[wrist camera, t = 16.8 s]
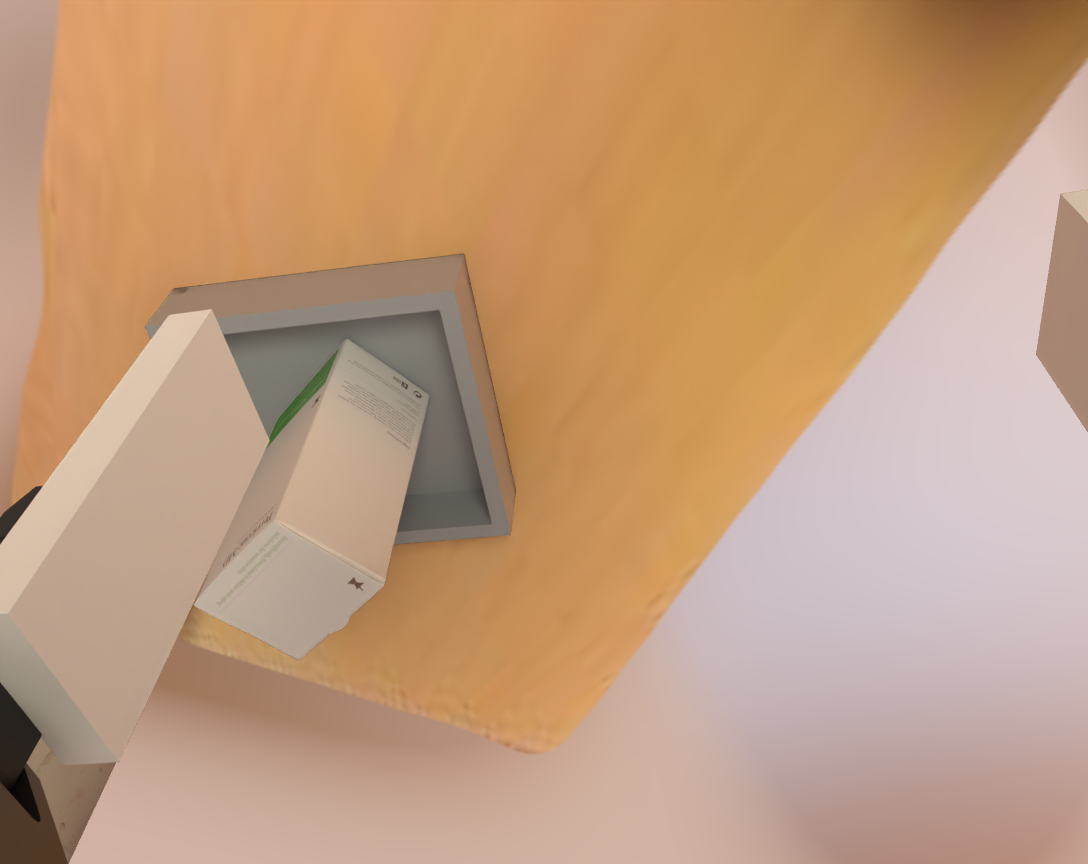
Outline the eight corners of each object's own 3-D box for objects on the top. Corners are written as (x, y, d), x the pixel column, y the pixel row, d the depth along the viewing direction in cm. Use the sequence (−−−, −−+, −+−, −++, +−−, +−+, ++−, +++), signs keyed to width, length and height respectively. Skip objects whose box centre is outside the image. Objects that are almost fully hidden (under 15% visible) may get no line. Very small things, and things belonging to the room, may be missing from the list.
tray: (463, 253, 52) (454, 290, 49) (515, 490, 62) (510, 535, 59) (173, 288, 54) (144, 326, 51) (268, 511, 64) (249, 556, 61)
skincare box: (348, 332, 55) (273, 511, 42) (439, 397, 57) (394, 584, 44) (272, 419, 59) (183, 606, 46) (361, 476, 61) (299, 669, 48)
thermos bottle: (69, 525, 66) (-206, 937, 43) (162, 493, 64) (-77, 909, 41) (141, 600, 70) (-77, 1012, 47) (230, 573, 68) (47, 990, 45)
